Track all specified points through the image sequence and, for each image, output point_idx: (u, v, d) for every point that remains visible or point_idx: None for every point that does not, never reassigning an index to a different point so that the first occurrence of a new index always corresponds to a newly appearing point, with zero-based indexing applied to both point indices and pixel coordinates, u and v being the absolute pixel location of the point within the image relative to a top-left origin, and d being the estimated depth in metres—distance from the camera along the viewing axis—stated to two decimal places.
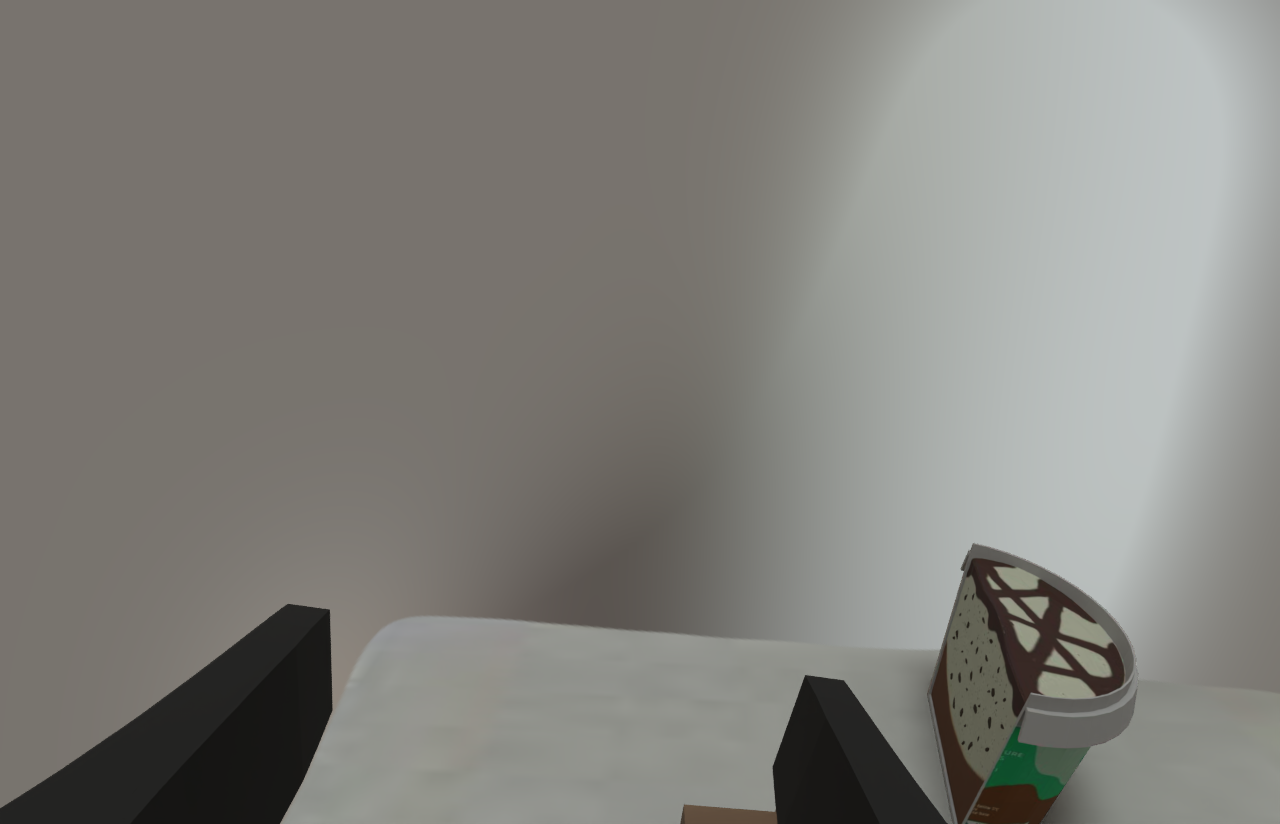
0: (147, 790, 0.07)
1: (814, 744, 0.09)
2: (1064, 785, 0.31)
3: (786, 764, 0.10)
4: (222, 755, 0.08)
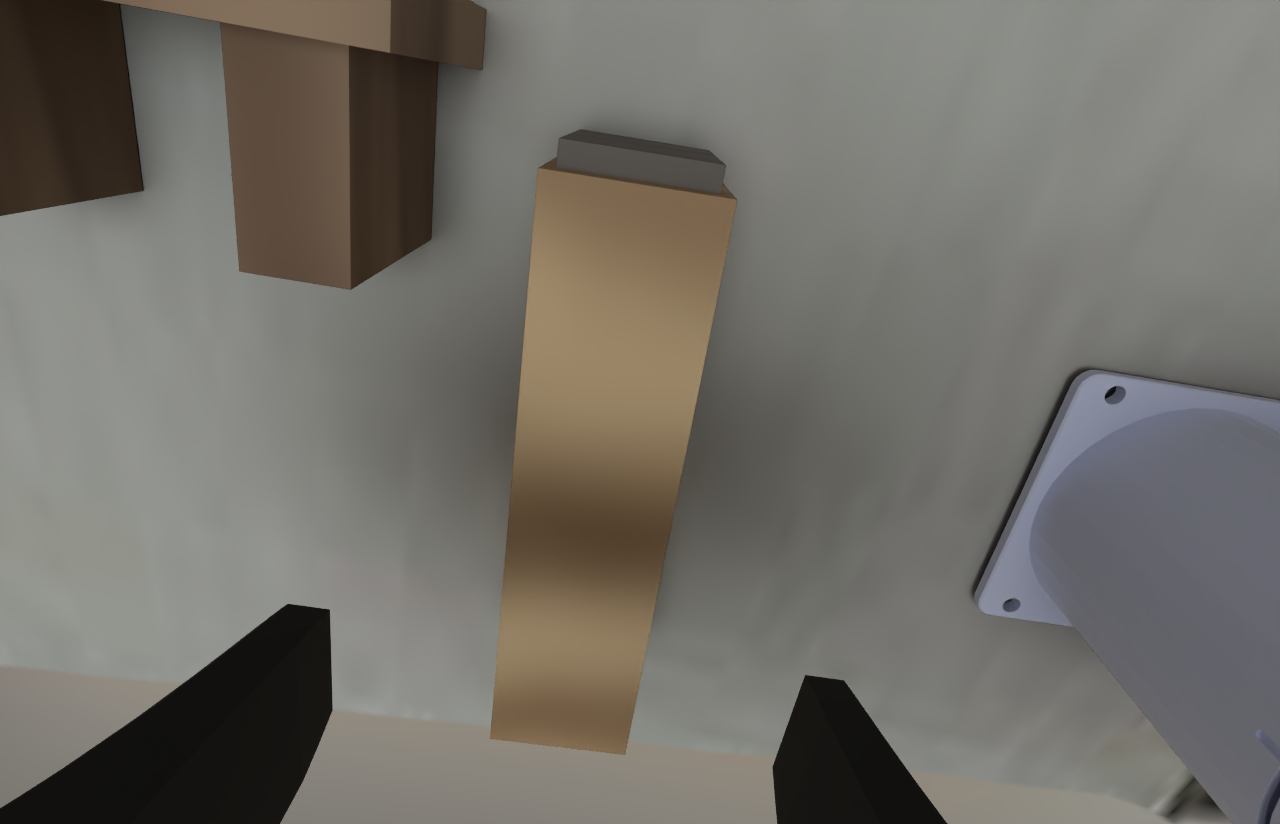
0: (147, 790, 0.07)
1: (814, 744, 0.09)
2: None
3: (786, 764, 0.10)
4: (222, 755, 0.08)
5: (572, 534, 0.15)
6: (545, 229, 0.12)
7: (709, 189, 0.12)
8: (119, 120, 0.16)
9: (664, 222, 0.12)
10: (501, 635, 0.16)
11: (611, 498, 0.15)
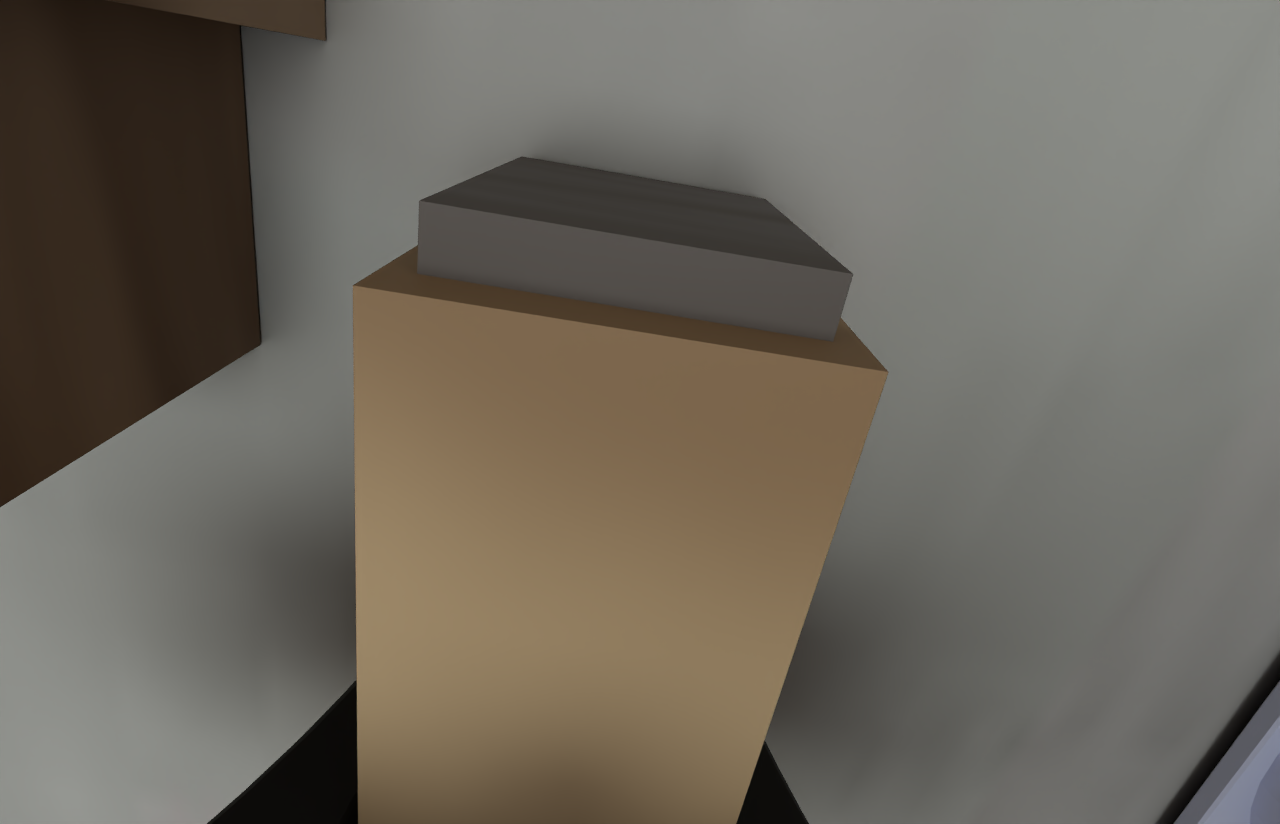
0: (333, 813, 0.07)
1: None
2: None
3: None
4: None
5: None
6: (386, 433, 0.05)
7: (806, 331, 0.05)
8: None
9: (695, 422, 0.05)
10: None
11: None
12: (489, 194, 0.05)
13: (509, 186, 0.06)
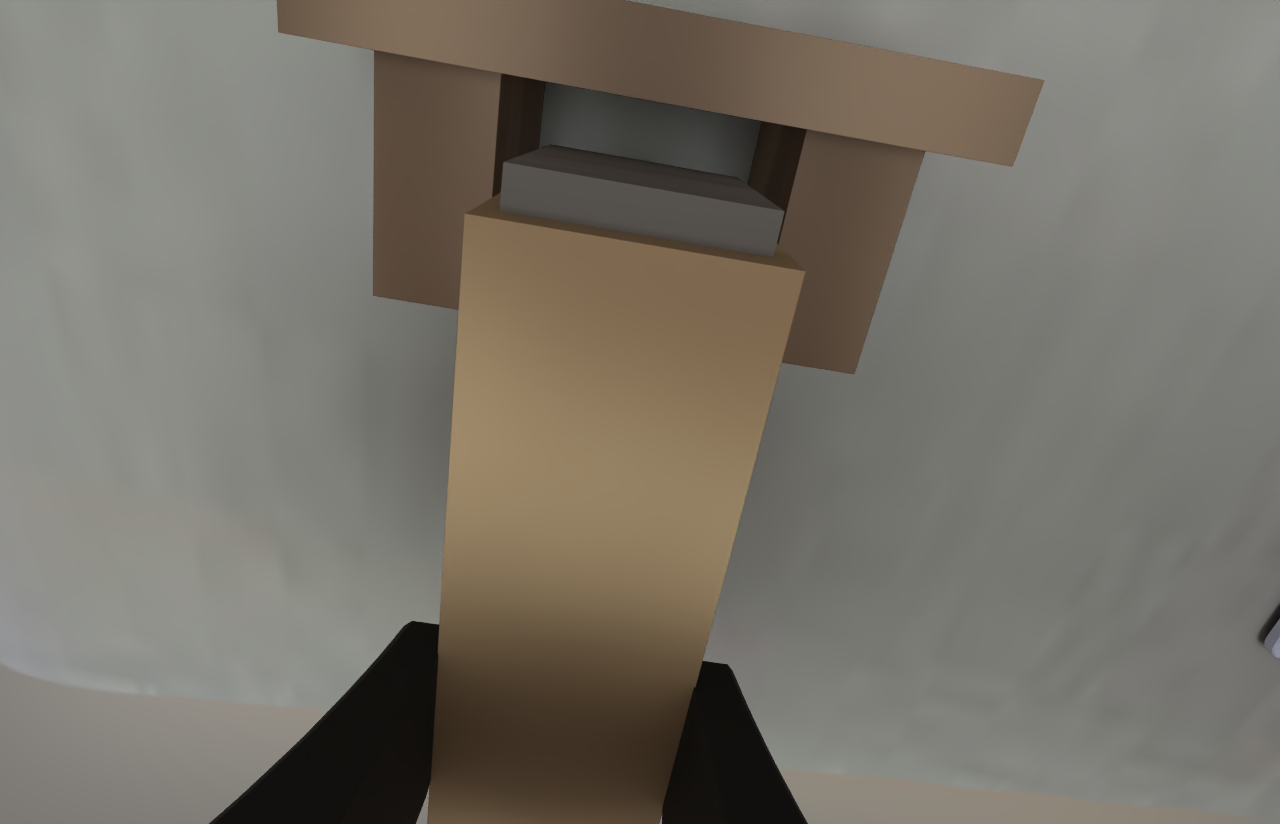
0: (334, 813, 0.07)
1: (688, 727, 0.09)
2: None
3: None
4: (383, 775, 0.08)
5: (531, 754, 0.10)
6: (479, 315, 0.07)
7: (755, 250, 0.07)
8: None
9: (681, 307, 0.07)
10: None
11: (590, 708, 0.10)
12: (542, 162, 0.08)
13: (552, 159, 0.08)
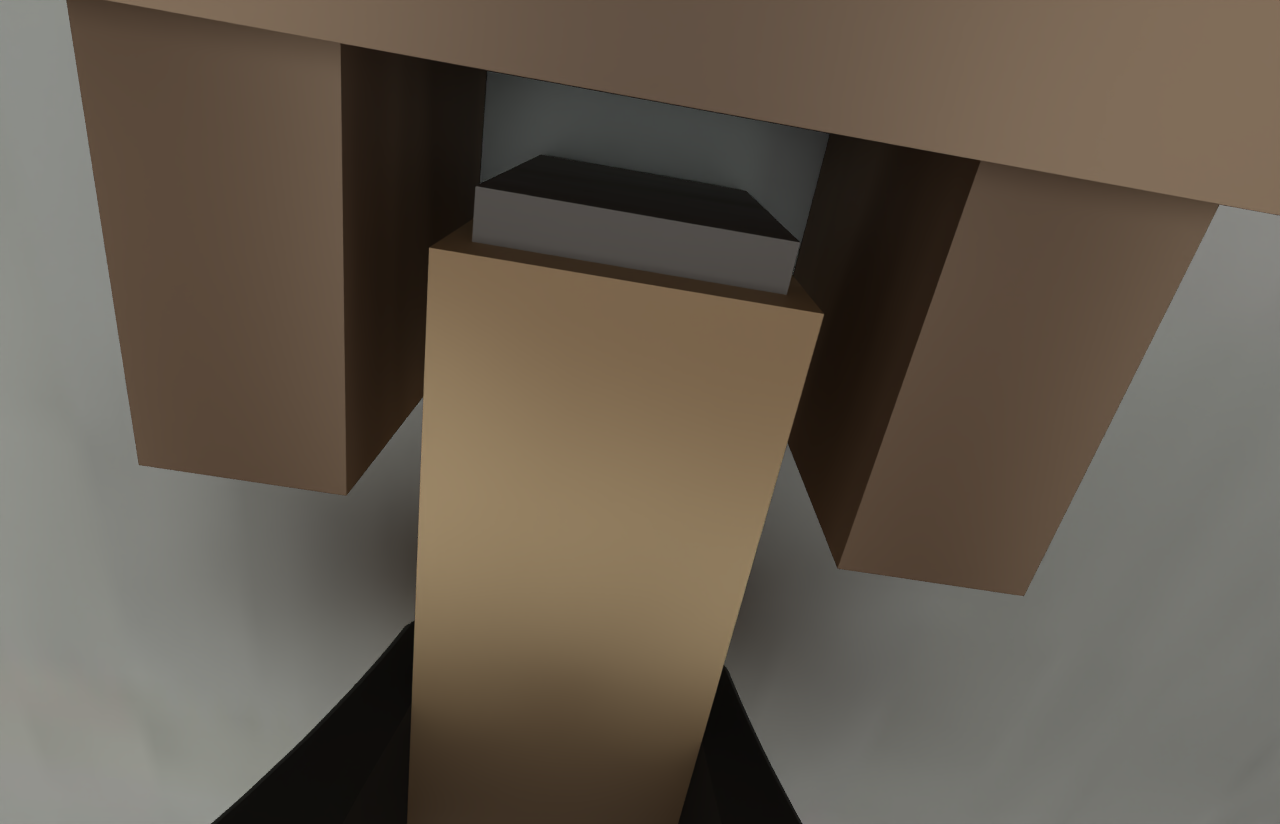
0: (336, 813, 0.07)
1: None
2: None
3: None
4: (385, 775, 0.08)
5: None
6: (449, 361, 0.06)
7: (766, 286, 0.06)
8: None
9: (681, 352, 0.06)
10: None
11: (579, 781, 0.09)
12: (523, 182, 0.07)
13: (537, 177, 0.07)
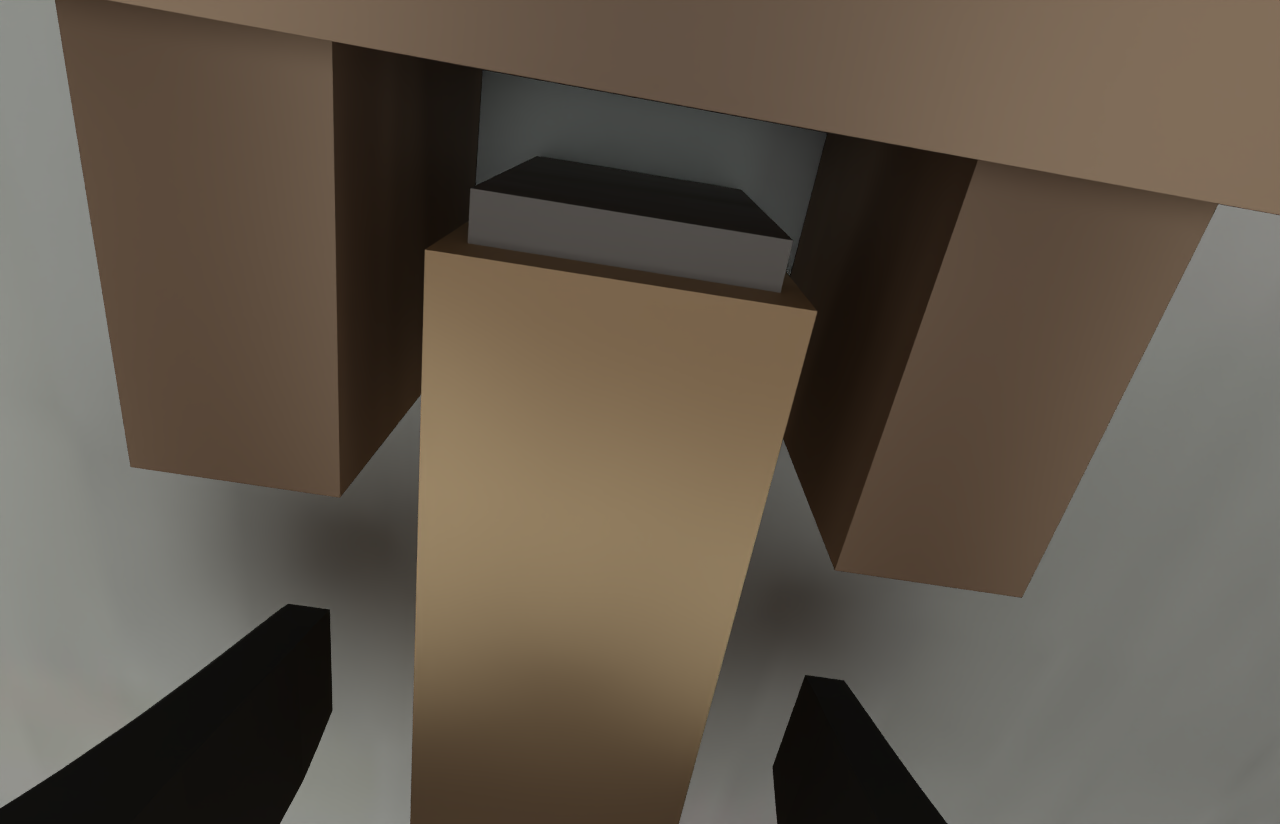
0: (147, 790, 0.07)
1: (814, 744, 0.09)
2: None
3: (786, 764, 0.10)
4: (222, 755, 0.08)
5: None
6: (446, 362, 0.06)
7: (759, 284, 0.07)
8: None
9: (675, 352, 0.06)
10: None
11: (581, 779, 0.09)
12: (518, 184, 0.07)
13: (532, 179, 0.08)
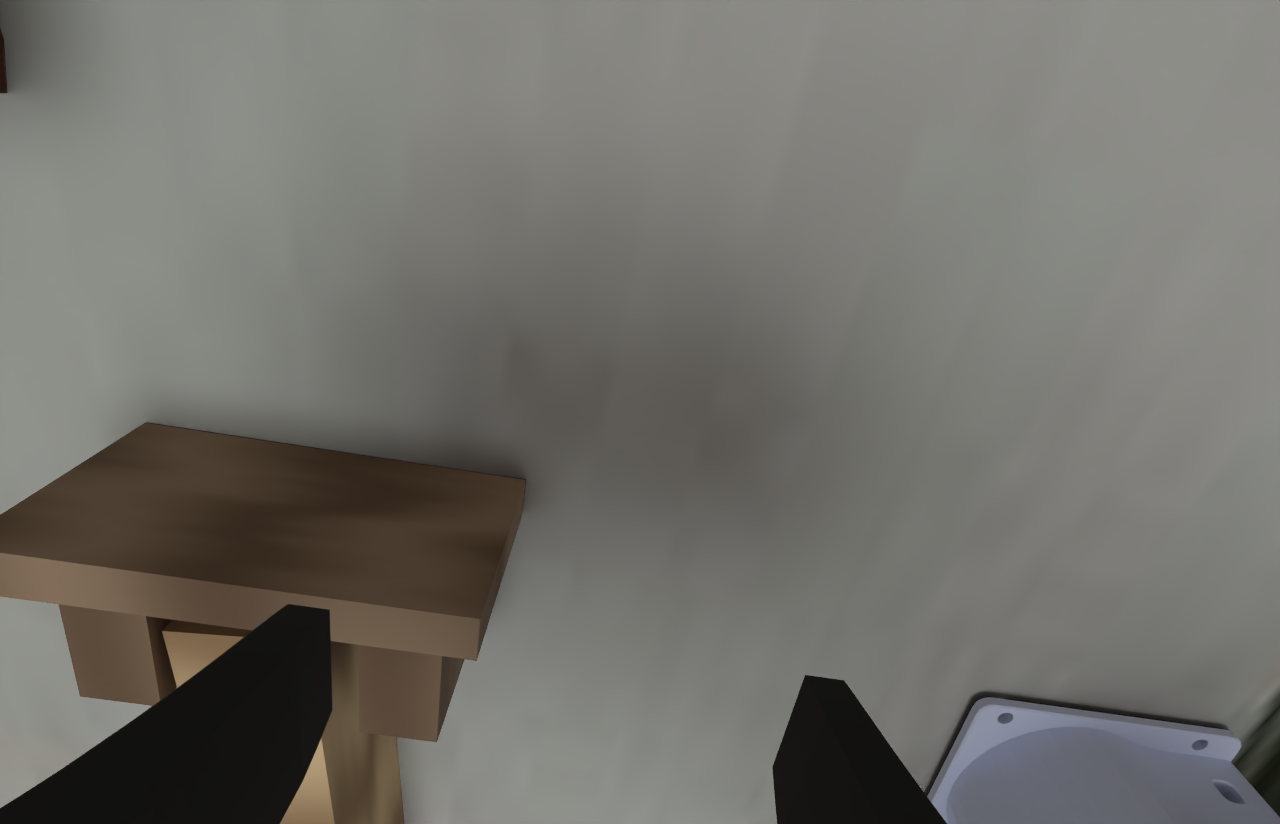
0: (147, 790, 0.07)
1: (814, 744, 0.09)
2: None
3: (786, 764, 0.10)
4: (222, 755, 0.08)
5: None
6: (179, 663, 0.17)
7: None
8: None
9: None
10: None
11: None
12: None
13: None
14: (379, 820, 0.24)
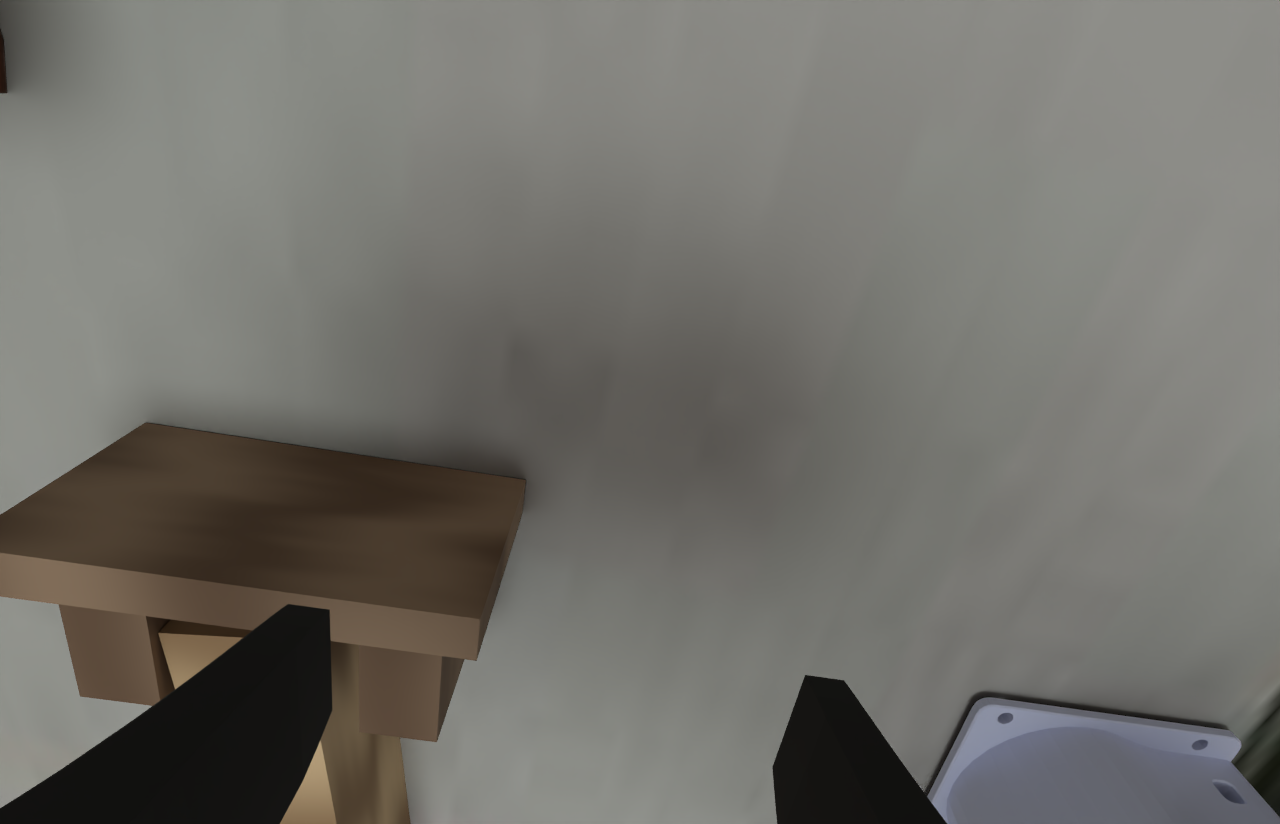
0: (147, 790, 0.07)
1: (814, 744, 0.09)
2: None
3: (786, 764, 0.10)
4: (222, 755, 0.08)
5: None
6: (176, 664, 0.17)
7: None
8: None
9: None
10: None
11: None
12: None
13: None
14: (384, 820, 0.24)
